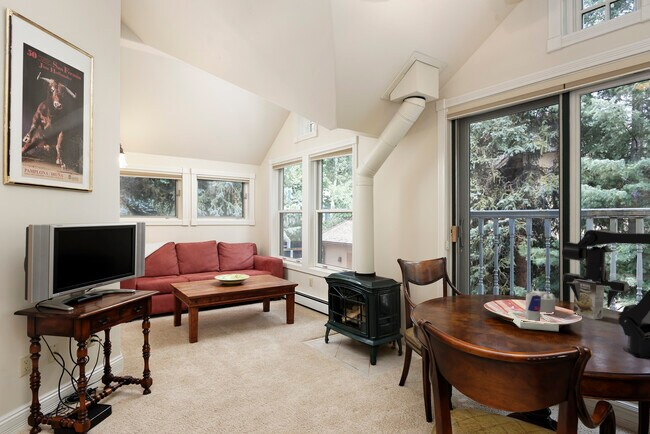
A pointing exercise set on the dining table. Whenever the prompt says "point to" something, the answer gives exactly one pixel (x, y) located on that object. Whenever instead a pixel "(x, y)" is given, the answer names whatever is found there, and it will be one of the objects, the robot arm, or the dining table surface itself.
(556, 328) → the tray
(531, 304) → the energy drink
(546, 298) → the lumpy-topped squat cylinder
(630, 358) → the dining table surface
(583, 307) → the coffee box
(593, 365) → the dining table surface
